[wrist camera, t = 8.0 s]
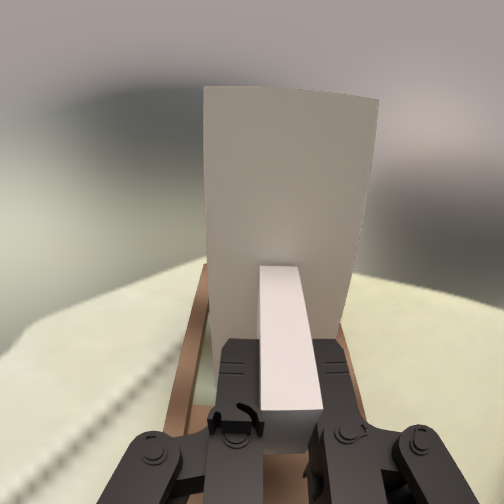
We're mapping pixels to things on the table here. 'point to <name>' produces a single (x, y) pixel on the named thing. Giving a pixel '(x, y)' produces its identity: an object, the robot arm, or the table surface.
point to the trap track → (204, 396)
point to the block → (283, 199)
